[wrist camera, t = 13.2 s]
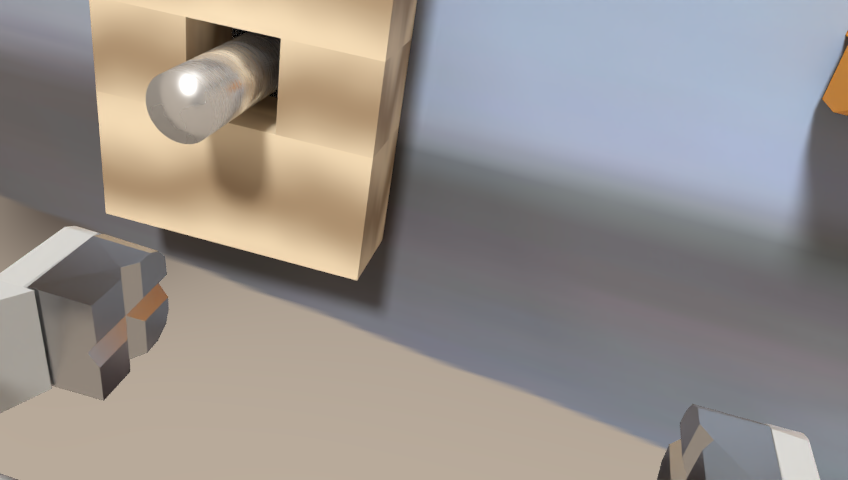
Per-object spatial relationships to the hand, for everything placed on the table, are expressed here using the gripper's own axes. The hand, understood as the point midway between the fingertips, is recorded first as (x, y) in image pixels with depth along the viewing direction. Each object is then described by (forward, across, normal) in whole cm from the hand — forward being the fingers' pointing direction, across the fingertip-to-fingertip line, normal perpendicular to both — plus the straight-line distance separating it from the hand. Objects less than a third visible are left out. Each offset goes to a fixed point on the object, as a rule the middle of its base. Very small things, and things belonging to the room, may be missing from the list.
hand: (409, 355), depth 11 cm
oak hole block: (+25, +13, +6) cm, 29 cm away
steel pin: (+25, +13, +6) cm, 29 cm away
